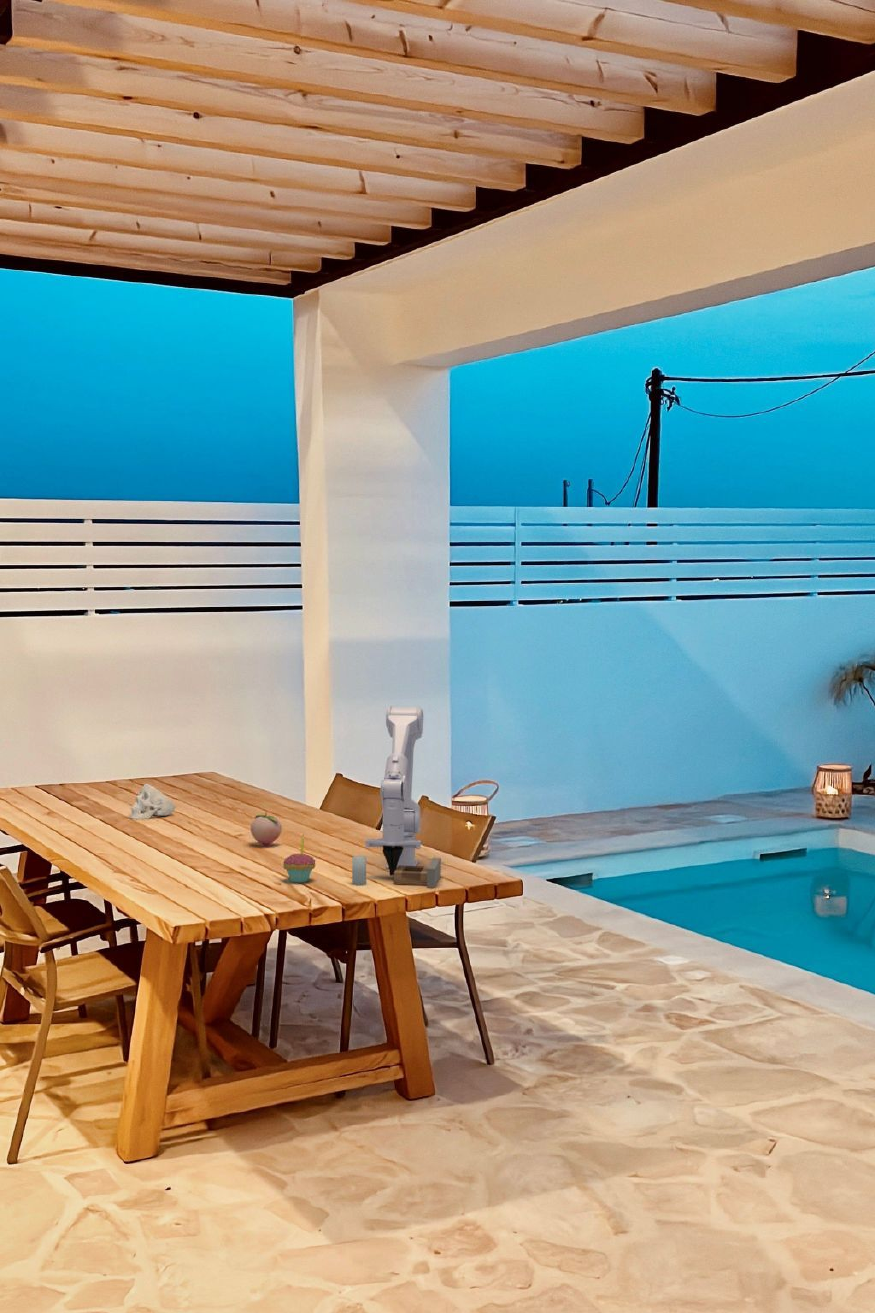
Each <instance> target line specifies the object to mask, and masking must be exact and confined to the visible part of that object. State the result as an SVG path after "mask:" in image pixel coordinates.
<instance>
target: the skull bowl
mask: <svg viewBox="0 0 875 1313" xmlns="http://www.w3.org/2000/svg"><path fill="white" fill-rule="evenodd" d="M176 808H177V806H176V804H175V803H174V802H173V801H172V800H171V799H170V798H169V797H167V795H165V794H164V793H163V792H161V791H160V790H159V789H157V788H156V787H154V786H153V785H150V784H148V783H145V784H144V785H142V786H141V788H140V791H139V794H138V795H136V796H135V802H134V804H133V805H131V807H130V812H131V815H130V816H129V818H130V819H132V820H135V821H137V820H140V819H141V820H148V819H150V818H151V817H152V816H153V815H155V816H158V817H159V816H160V817H161V816H162V817H167V816H170V815H171V814H172V813H173V812H174V811H175V810H176Z"/></svg>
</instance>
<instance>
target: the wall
mask: <svg viewBox="0 0 875 1313" xmlns="http://www.w3.org/2000/svg"><path fill="white" fill-rule="evenodd" d="M441 860H442V858H441V857H433V858H431V861H430V863H429V865H427V866H428V868H427V885H426V888H427V889H435V888H436V886H437V885H436V884H438V882H439V881H440V878H441V876H442V875H441V873H442V872H441V871H442V869H441V868H442V863H441V862H442V861H441Z"/></svg>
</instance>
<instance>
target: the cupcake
mask: <svg viewBox="0 0 875 1313" xmlns="http://www.w3.org/2000/svg"><path fill="white" fill-rule="evenodd" d="M304 836H305V834H302V837H301V842H300V843H301V844H300V853H293V854H291V855H289V856H287V857H286V858H285V859H284V861H283V863H282V865H283V866H282V868H283V869H284V870H286V872H287V874H288V878H289V881H290V882H291V883H297V884H300V883H306V882H307V883H308V882H309V880H310V879H309V878H310V875H311V873H312V870H314V869H315V867H316V859H314V857H312V856H311V855H309V854H306V853H304V846H305V837H304Z"/></svg>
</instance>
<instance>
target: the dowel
mask: <svg viewBox="0 0 875 1313" xmlns="http://www.w3.org/2000/svg"><path fill="white" fill-rule="evenodd" d="M351 860H352V861H351V862H352V863H351V864H352V865H351V866H352V868H351V869H352V870H351V871H352V872H351V875H352V878H351V879H352V881H351V884H352V885H354V886H365V885H366V884H367V856H365V855H353V856H352V859H351Z"/></svg>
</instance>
